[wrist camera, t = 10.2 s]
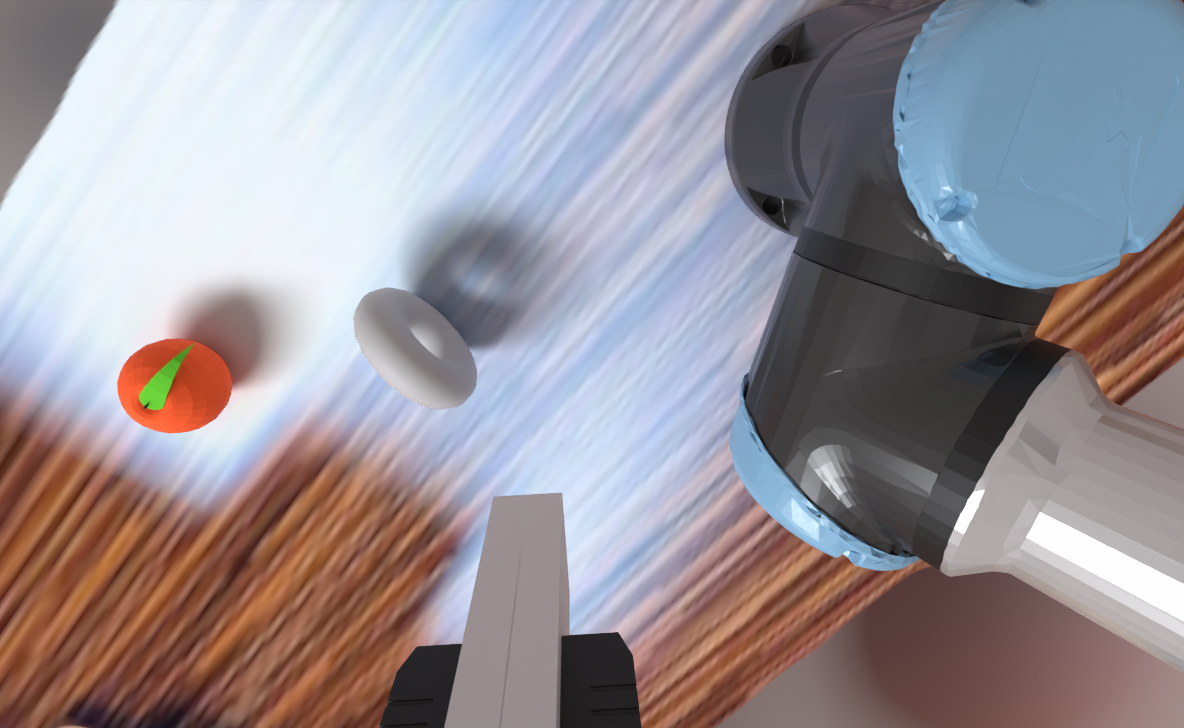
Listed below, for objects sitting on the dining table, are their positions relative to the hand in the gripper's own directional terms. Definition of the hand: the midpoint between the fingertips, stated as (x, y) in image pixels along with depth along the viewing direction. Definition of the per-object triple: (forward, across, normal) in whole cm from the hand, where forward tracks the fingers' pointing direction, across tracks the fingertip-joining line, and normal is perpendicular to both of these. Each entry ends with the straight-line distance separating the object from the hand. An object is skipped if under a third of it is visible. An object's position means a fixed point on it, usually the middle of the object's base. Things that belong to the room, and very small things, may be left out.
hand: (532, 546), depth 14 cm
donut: (+34, -10, -5) cm, 36 cm away
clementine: (+34, -28, -7) cm, 45 cm away
